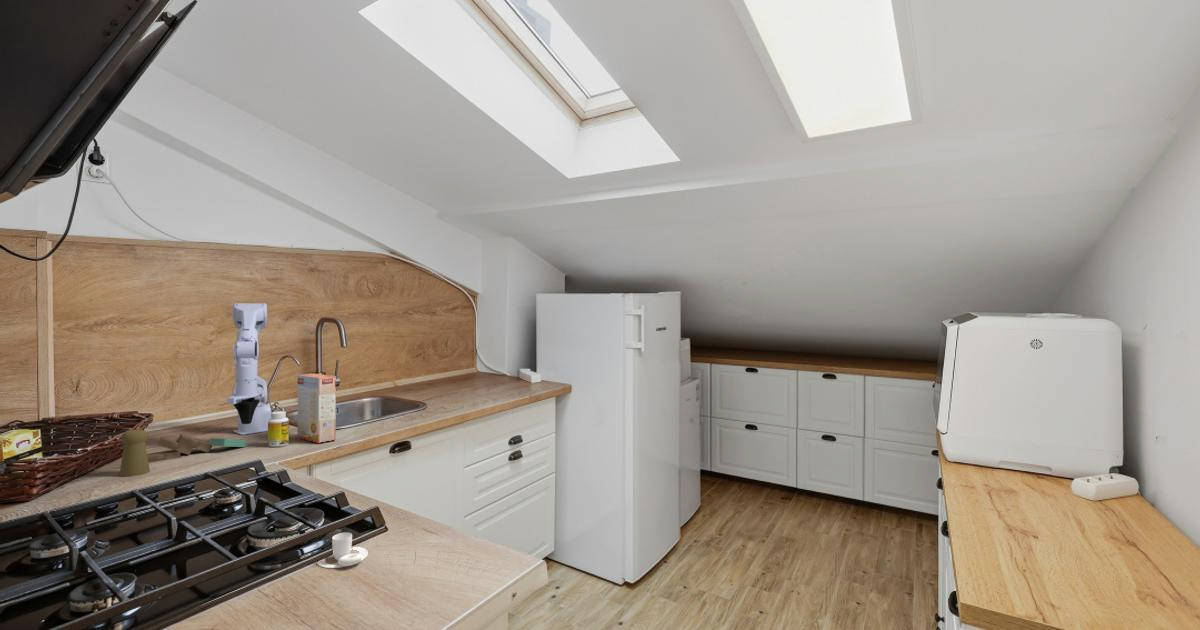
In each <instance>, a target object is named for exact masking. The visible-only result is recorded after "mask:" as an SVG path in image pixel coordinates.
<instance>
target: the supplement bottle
mask: <svg viewBox="0 0 1200 630" xmlns="http://www.w3.org/2000/svg"><path fill="white" fill-rule="evenodd" d="M286 413H287V412H286V411H283V410H282V411H281V410H280V411H278V410H277V411H273V412H272V411H271V419H269V420H268V431H267V446H269V447H270V448H279V447H280V448H281V447H285V446H287V445H288V444H289V442H290V441H289V440H290V439H289V437H290V435H289V433H290V432H289V430H290V429H289V424H290V423H289V421H290V420H289V418H288V417H287V414H286Z"/></svg>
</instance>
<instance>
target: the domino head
mask: <svg viewBox="0 0 1200 630" xmlns="http://www.w3.org/2000/svg"><path fill="white" fill-rule="evenodd" d="M209 443H210V445H212V447H213V446H215V447H217V446H218V447H234V448H235V447H237V448H241V447H242V448H247V444H248V440H246V439H236V438H234V439H233V438H217V437H216V438H214V437H211V438H210V441H209Z"/></svg>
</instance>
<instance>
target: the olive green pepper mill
mask: <svg viewBox="0 0 1200 630" xmlns="http://www.w3.org/2000/svg"><path fill="white" fill-rule="evenodd" d="M148 437H149V434H148V433H147V431H146V430H144V429H132V430H128V431H125V432H123V433H122V435H121V438H120V439H121V443H122V444H123V450H122V455H121V464H120V468H119V469H120V470H119V473H118V475H119V477H136V476H142V475H145V474H148V473H149V472H151V469H150V465H149V464H150V463H148V457H147V454H148V452H147V446H146V441H148Z"/></svg>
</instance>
